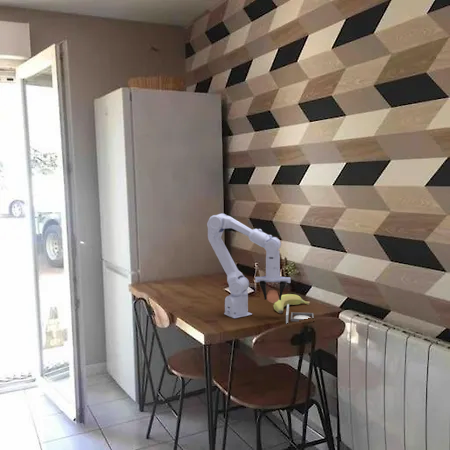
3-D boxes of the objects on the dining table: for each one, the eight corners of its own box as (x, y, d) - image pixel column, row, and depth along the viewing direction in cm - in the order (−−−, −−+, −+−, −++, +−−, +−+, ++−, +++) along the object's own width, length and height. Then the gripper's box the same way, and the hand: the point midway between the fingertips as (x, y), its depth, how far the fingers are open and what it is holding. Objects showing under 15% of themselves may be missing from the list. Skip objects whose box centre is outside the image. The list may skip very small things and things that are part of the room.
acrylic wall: (288, 323, 195) (288, 315, 194) (286, 323, 195) (285, 315, 194) (288, 312, 210) (289, 304, 210) (287, 312, 210) (287, 304, 210)
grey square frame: (290, 321, 198) (290, 318, 198) (291, 314, 207) (291, 312, 207) (313, 321, 196) (313, 319, 196) (313, 315, 205) (313, 313, 205)
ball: (271, 305, 199) (271, 291, 198) (263, 302, 203) (263, 289, 203) (282, 303, 202) (282, 290, 201) (273, 300, 206) (273, 287, 206)
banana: (267, 291, 219) (305, 292, 226) (264, 302, 220) (302, 302, 228) (280, 306, 207) (320, 306, 215) (277, 317, 209) (317, 317, 216)
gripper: (254, 268, 198) (254, 301, 200) (290, 269, 196) (290, 302, 197) (255, 265, 205) (256, 296, 207) (290, 265, 203) (290, 297, 204)
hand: (272, 299), depth 203 cm, fingers closed on ball, 5 cm apart
